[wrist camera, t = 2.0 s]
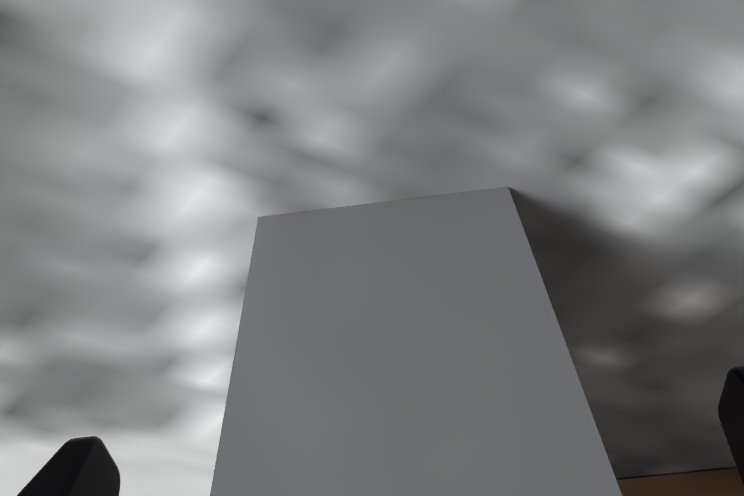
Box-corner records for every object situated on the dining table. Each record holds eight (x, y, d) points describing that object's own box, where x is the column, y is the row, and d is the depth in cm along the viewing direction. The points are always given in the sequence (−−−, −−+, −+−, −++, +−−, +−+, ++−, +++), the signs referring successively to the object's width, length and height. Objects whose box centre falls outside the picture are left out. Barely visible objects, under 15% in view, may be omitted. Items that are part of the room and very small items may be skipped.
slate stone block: (508, 186, 11) (642, 552, 6) (507, 361, 13) (603, 720, 8) (258, 216, 11) (192, 595, 6) (303, 383, 13) (281, 747, 8)
